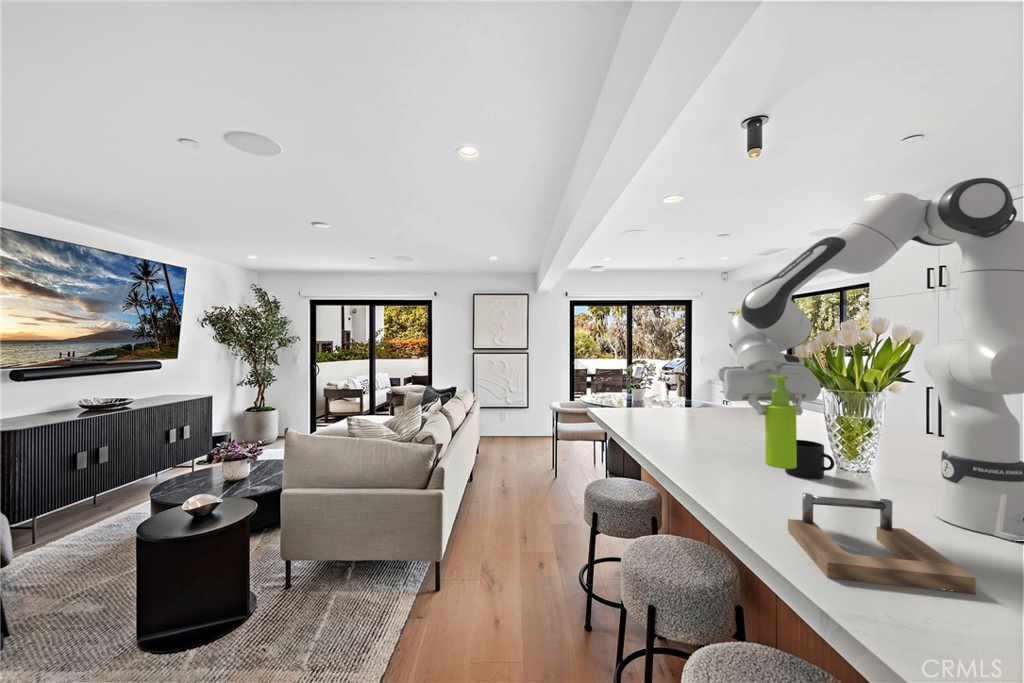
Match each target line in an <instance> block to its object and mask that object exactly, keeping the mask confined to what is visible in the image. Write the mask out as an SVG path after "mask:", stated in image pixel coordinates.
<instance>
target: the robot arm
mask: <svg viewBox="0 0 1024 683" xmlns="http://www.w3.org/2000/svg"><path fill="white" fill-rule="evenodd" d="M1017 214H1018V211H1017V209H1016V207H1015V206H1014V201H1013V196H1012V194H1011V191H1010V189H1009V188H1008V187H1007V186H1006V185H1005V184H1004V182H1002V181H1000V180H998V179H995V178H993V177H992V178H990V177H976V178H971V179H967V180H962V181H961V182H958V183H956V184H953V185H952V186H950V187H949V188H948V189H947V188H946V189H945V190H943V191H941V192H940V193H938V194H936V195H934V196H933V197H931V198H930V199H921V198H918V197H917V196H915V195H914V194H913V195H912V194H910V193H906V192H893V193H889V194H887V195H886V196H884V197H882V198H881V199H880V200H878V201H876V202H875V203H874V204H873V205H871V206H870V207H869V208H867V209H865V211H864V212H863V213H861V214H860V215H859V216H858V217H856V219H854V221H853V222H851V224H850V225H849V226H848V227H846V228H845V229H844V230H843V231H842V232H840V233H839V234H837V235H835V236H829V237H828V236H827V237H825V238H823V239H821V240H819V241H817V242H816V243H814V244H813V245H812V246H810V247H809V248H807V249H805V251H803V252H802V253H801V254H800V255H799V256H797V257H796V258H795V259H794V260H792V261H791V262H790V263H788V264H787V265H786V266H785V267H783V269H781V270H780V271H779V272H777V273H775V275H774V276H772V277H771V278H769V279H768V280H767V281H765V282H763V283H762V284H760V285H759V286H757V287H755V288H753V289H752V290H751V291H749V292H748V293H747V294H746V295H745V297H744V299H743V301H742V304H741V307H740V308H741V309H740V312H741V313H739V314H737V315H735V316H734V317H733V318H732V319H731V321H730V322H729V326H728V337H729V340H730V345H731V348H732V350H733V352H734V353H735V355H736V356H737V357H736V358H737V364H738V366H723V367H722V368H720V369H718V371H717V375H718V377H719V380H720V381H721V382H722V383H721V384H722V391H723V395H724V398H725V399H726V400H728V402H729V401H730V402H747V403H748V405H749V406H751V407H752V408H753V409H754V410H756V413H757V415H758V416H765V415H766V413H767V412H768V411H767V409H766V405H767V404H761V402H772V390H774V389H776V378H766V376H767V375H785V376H788V379H785V389H787V390H788V391H789V402H791V403H792V404H793V405H792V406H794V407H796V416H802V414H803V413H804V412H803V408H802V406H801V405H802V402H804V401H805V402H815V401H816V400H817V399H818V398H819V397H820V394H821V392H822V386H821V384H820V382H819V381H818V379H817V378H816V376H815V374H814V373H813V372H812V370H811V369H809V368H808V367H806V366H805V362H806V361H805V359H804V358H803V357H801V356H798V355H794V354H793V355H792V354H788V353H784V352H785V351H787V350H790V349H793V348H795V347H797V346H799V345H801V344H803V343H804V342H805V341H807V340H808V338H809V337H810V335H811V333H812V330H813V323H812V320H811V318H810V317H809V316H808V315H807V314H806V313H805V312H804V311H802V309H801V308H800V307H798V306H797V304H796V303H794V302H793V300H792V298H793V295H794V294H795V293H796V292H797V291H799V290H800V289H801V288H803V286H805V285H807V283H809V282H811V281H812V280H813V279H814V278H815V277H816V276H817V275H819V274H820V273H822V272H824V271H826V270H834V269H835V270H837V271H841V272H844V273H847V274H852V275H853V274H855V275H861V274H862V275H863V274H868V273H872V272H874V271H876V270H879V268H881V267H882V266H884V264H886V263H887V262H889V260H890V259H891V258H892V257H893V256H894V255H895V254H897V253H898V252H899V250H900V249H901V248H902V247H904V245H906V244H907V243H909V241H912V242H913V241H914V242H917V243H919V244H922V245H924V246H925V245H926V246H929V247H930V246H932V247H942V246H948V245H951V244H952V245H953V243H956V244H957V245H958V247H959V248H960V251H961V254H962V255H961V256H962V263H961V265H960V266H961V267H960V272H959V276H958V283H957V288H956V289H957V290H956V295H955V300H954V306H953V307H954V311H955V313H956V314H957V315H958V317H959V318H960V321H961V323H962V328H963V335H964V338H963V339H953V340H948V341H946V342H941V343H940V344H936V345H934V346H932V348H931V349H929V350H928V351H927V352H926V355H925V356H924V361H923V366H924V369H925V371H926V372H927V374H928V375H929V377H930V378H931V379H932V381H933V384H934V386H935V388H936V393H937V395H938V399H939V403H940V406H941V410H942V415H943V428H944V429H943V430H944V431H943V432H944V433H943V437H944V438H943V439H944V445H943V446H944V448H943V449H944V450H943V451H941V458H940V460H941V462H940V464H941V466H940V467H941V468H940V469H941V477H942V483H941V487H940V488H941V489H940V492H939V498H938V501H937V504H936V506H935V509H933V510H934V511H933V514H934V515H935V517H937V518H938V519H940V520H942V521H945V522H947V523H949V524H952V525H953V526H958V527H961V528H964V529H967V530H971V531H973V532H974V531H975V532H980V533H984V534H986V535H987V534H989V535H992V536H996V537H997V538H998V537H999V538H1002V539H1004V540H1008V541H1012V540H1013V541H1012V542H1016V541H1017V540H1024V461H1022V460H1021V435H1020V434H1021V425H1020V423H1019V421H1018V419H1017V417H1015V415H1014V414H1013V413H1012V411H1010V409H1009V407H1008V405H1007V402H1006V401H1005V398H1004V396H1005V395H1006V396H1007V395H1019V394H1024V221H1021V220H1015V219H1016V217H1017V216H1018V215H1017ZM1012 215H1013V216H1012ZM1011 217H1012V218H1011Z"/></svg>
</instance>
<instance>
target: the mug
mask: <svg viewBox="0 0 1024 683" xmlns="http://www.w3.org/2000/svg"><path fill="white" fill-rule="evenodd" d="M796 454H797V467H796V468H794V469H784V471H785V473H786V474H787V475H789V476H792V477H795V478H799V479H805V480H821V479H823V478H824V477H825V471H831V470H832V469H834V467H835V460H834V458H833V456H831V455H830V454H828V453H825V445H824V444H822V443H821V442H817V441H812V440H804V439H796ZM825 458H826V459H827V460H829V462H830V465H829V466H825Z"/></svg>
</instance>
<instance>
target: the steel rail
mask: <svg viewBox="0 0 1024 683" xmlns="http://www.w3.org/2000/svg"><path fill="white" fill-rule="evenodd" d="M814 505H815V506H816V505H817V506H826V507H827V506H829V507H840V508H841V507H842V508H853V509H854V508H855V509H856V508H858V509H869V510H870V509H871V510H879V527H880V528H881V529H883V530H887V531H892V528H893V500H892V499H891V500H890V499H886V498H880V500H874V499H873V500H872V499H855V498H845V497H834V496H833V497H831V496H830V497H829V496H817V495H814V494H811V493H806V492H805V493H802V506H801V507H802V510H801V511H802V512H801V513H802V519H801V520H802V521H803V522H804V523H807V524H813V522H814Z"/></svg>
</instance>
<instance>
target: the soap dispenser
mask: <svg viewBox="0 0 1024 683" xmlns="http://www.w3.org/2000/svg"><path fill="white" fill-rule="evenodd" d="M766 378H776V389H774V390H772V401H771V403H769V404H765V405H766V409H767V411H768V412H767V413H766V415H764V418H765V423H764V424H765V426H764V427H765V464H766V465H767V466H768V467H772V468H777V469H783V470H785V469H794V468H796V467H797V454H796V440H797V415H796V407H794V406H793V405H792V404H790V401H789V391H788V390H787V389H785V379H788V376H785V375H767V376H766Z"/></svg>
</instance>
